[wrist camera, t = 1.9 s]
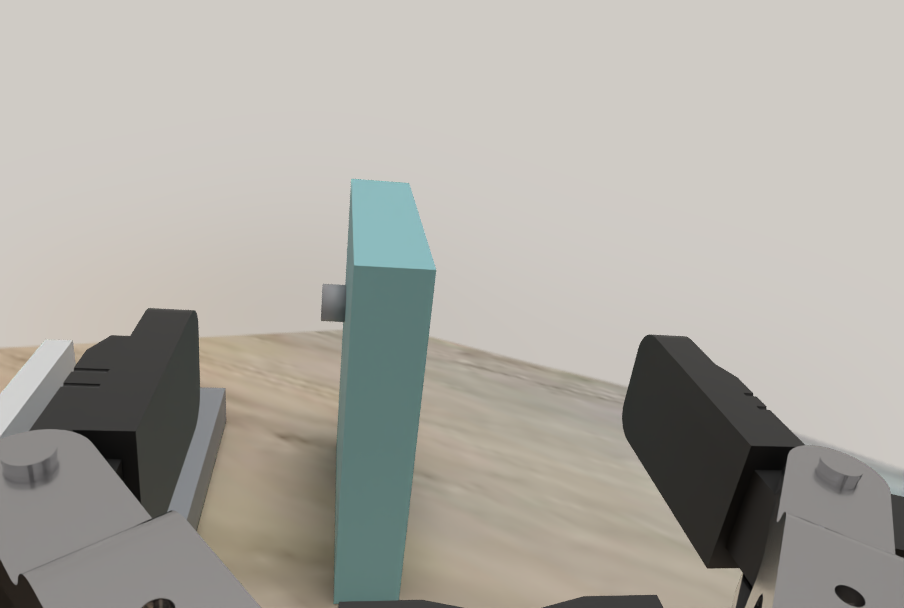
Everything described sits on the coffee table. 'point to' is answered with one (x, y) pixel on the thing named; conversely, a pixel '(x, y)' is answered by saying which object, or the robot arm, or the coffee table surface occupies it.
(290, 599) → the coffee table surface
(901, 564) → the robot arm
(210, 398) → the track board
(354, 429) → the door panel
